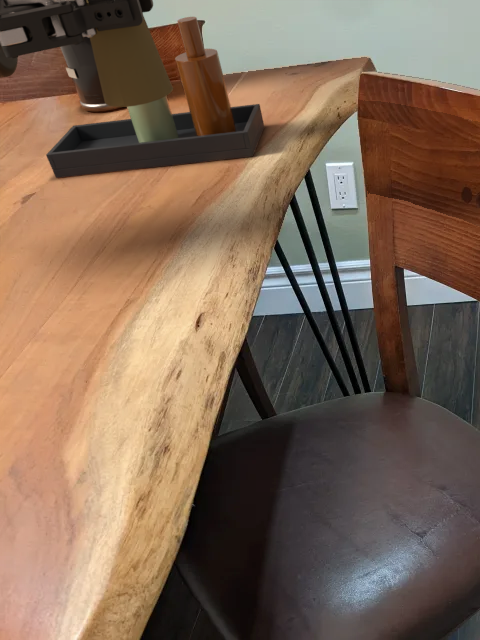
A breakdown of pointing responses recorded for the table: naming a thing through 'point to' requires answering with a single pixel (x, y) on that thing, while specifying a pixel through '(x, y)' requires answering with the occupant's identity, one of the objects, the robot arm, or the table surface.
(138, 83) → the olive peg figure
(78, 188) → the table surface
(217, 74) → the amber bottle
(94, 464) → the table surface
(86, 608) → the table surface
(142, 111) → the sage bottle
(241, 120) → the tray
